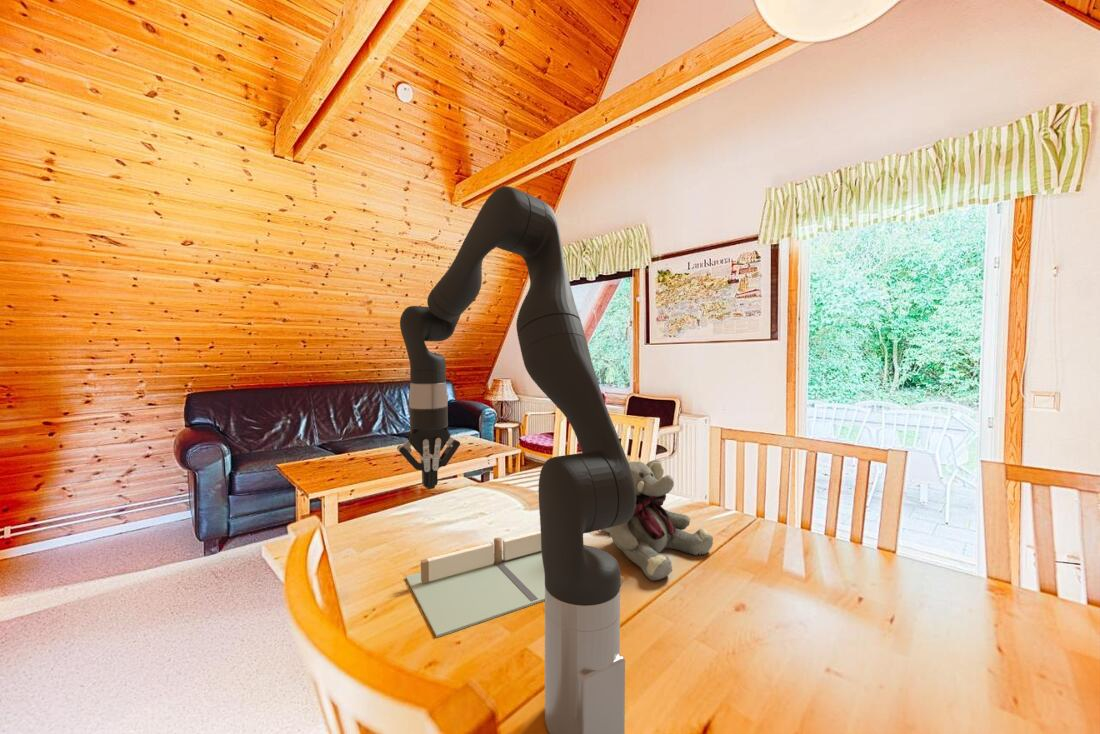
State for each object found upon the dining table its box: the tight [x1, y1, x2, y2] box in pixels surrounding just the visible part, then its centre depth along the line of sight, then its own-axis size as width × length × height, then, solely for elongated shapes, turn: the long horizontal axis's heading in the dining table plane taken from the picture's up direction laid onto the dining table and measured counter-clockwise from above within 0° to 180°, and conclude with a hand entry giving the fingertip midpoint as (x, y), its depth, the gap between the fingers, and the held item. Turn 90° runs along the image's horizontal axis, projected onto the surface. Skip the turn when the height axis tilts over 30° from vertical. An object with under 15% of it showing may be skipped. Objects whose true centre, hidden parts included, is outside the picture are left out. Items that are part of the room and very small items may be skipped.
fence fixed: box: [493, 530, 541, 564], centre depth 97 cm, size 2×16×6 cm, turn 121°
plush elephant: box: [602, 459, 714, 582], centre depth 102 cm, size 27×22×21 cm
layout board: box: [405, 550, 545, 638], centre depth 88 cm, size 21×33×1 cm, turn 121°
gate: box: [420, 542, 494, 583], centre depth 89 cm, size 15×1×4 cm, turn 121°
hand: (430, 488), depth 92 cm, fingers closed
